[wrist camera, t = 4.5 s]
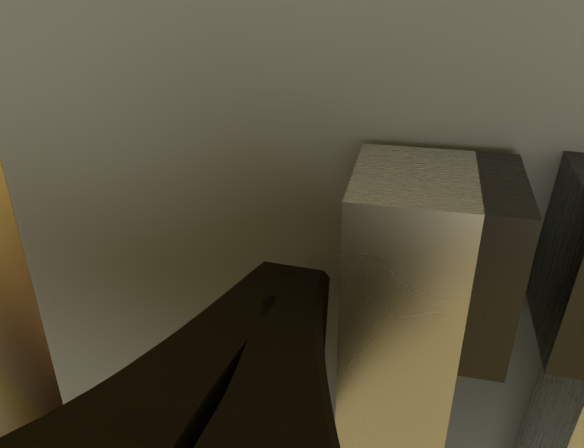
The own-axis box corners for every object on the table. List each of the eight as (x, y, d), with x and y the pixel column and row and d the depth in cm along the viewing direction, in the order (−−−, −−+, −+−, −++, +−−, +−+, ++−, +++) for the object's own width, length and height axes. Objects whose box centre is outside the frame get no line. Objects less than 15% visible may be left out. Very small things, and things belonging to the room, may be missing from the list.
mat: (694, 658, 14) (708, 697, 13) (110, 507, 17) (95, 532, 16) (1196, 20, 6) (1289, 31, 6) (-14, -35, 9) (-50, -33, 9)
